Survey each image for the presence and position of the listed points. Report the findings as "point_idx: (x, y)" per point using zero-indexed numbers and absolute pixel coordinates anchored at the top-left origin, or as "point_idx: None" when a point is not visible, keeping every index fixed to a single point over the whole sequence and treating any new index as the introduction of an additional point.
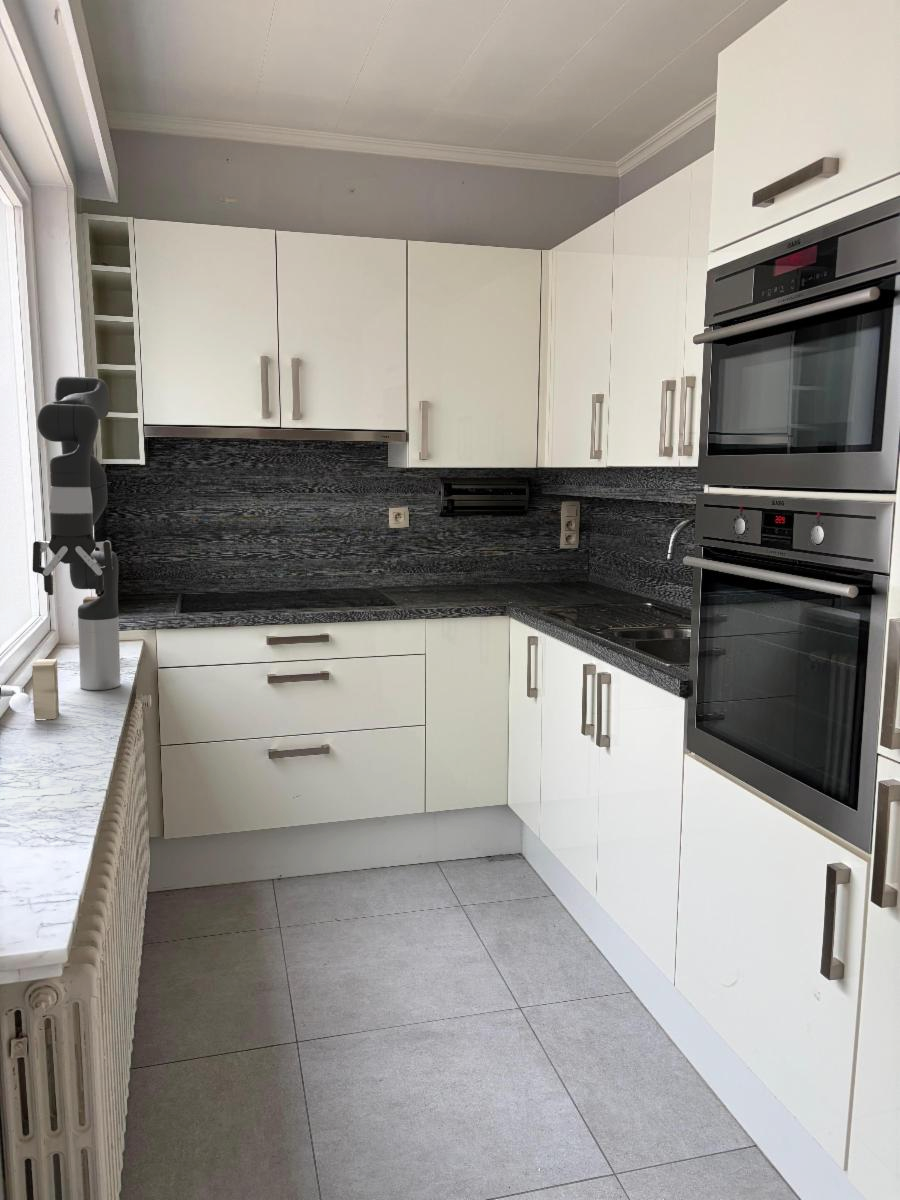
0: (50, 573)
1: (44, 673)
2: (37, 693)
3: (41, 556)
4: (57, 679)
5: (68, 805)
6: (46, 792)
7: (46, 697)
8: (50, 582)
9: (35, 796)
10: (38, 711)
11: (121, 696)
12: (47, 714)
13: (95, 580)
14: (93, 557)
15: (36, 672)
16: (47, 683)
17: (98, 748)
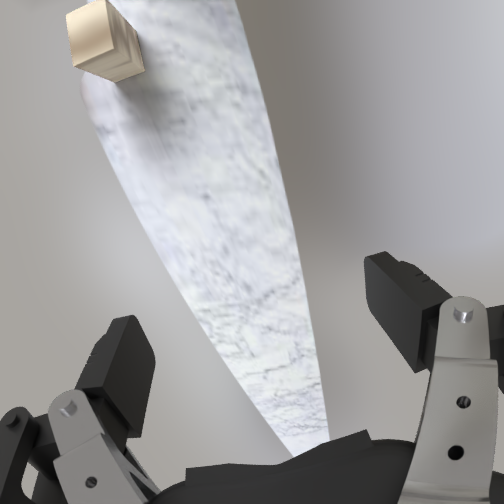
0: (124, 441)
1: (102, 59)
2: (103, 73)
3: (7, 497)
4: (118, 14)
5: (297, 385)
6: (265, 364)
7: (121, 68)
8: (141, 408)
9: (259, 373)
10: (115, 78)
11: None
12: (131, 73)
13: (403, 352)
14: (496, 396)
15: (87, 66)
16: (115, 61)
17: (273, 217)
